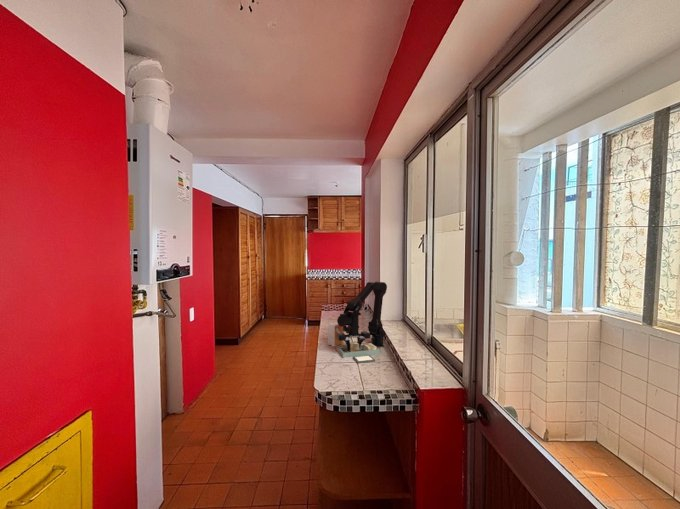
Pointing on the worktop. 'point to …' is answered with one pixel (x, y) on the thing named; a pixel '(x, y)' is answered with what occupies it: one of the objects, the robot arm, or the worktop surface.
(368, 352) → the parts bin
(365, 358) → the pad
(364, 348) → the maple box
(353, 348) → the walnut block
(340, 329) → the small box
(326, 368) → the worktop surface
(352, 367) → the worktop surface
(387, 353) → the worktop surface
